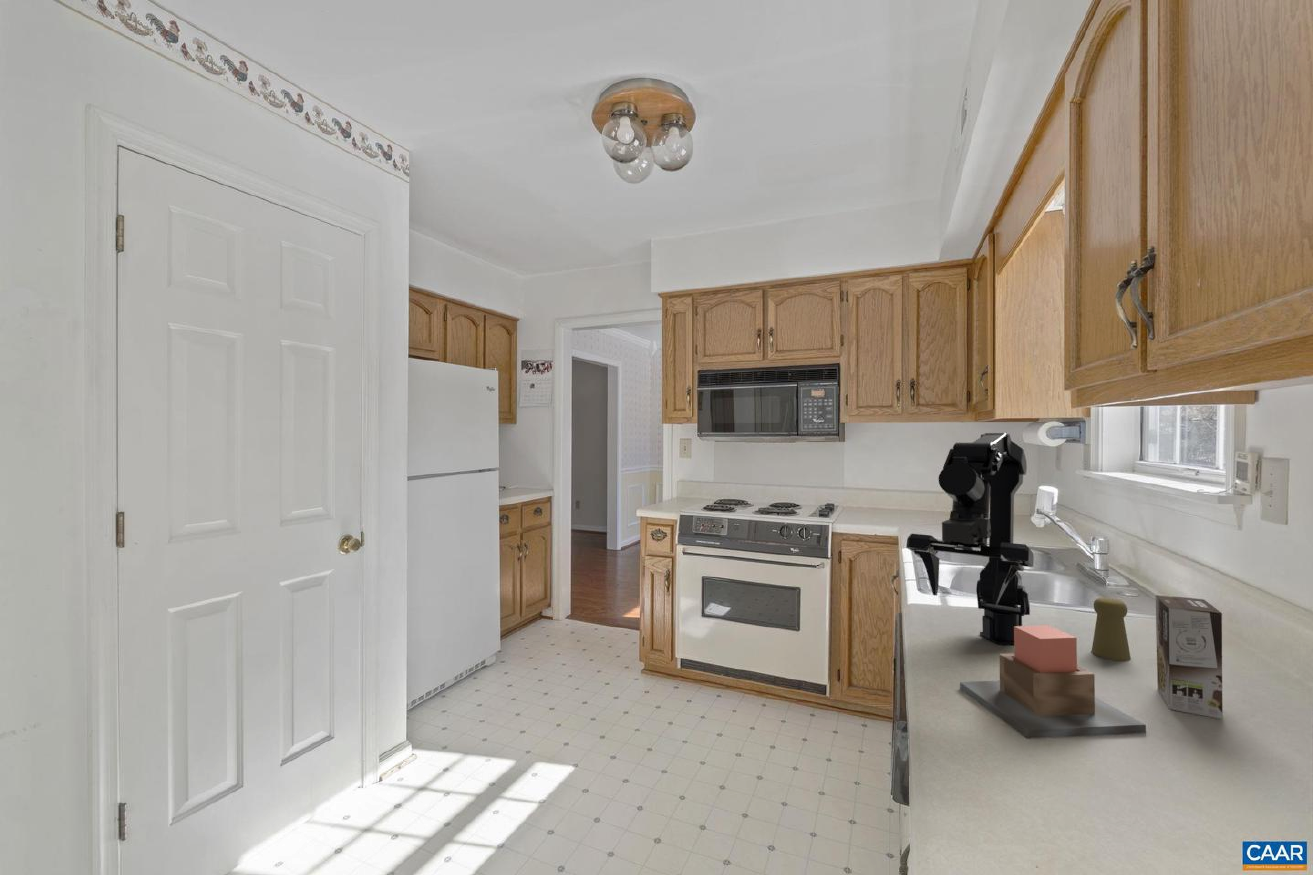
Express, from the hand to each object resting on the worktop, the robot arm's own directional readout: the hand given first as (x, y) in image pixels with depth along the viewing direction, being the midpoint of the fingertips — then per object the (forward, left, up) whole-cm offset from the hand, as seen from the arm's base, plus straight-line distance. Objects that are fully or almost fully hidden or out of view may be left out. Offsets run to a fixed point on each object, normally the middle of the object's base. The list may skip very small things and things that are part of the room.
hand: (963, 599), depth 96 cm
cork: (-37, -13, -16) cm, 43 cm away
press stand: (-8, +7, -15) cm, 19 cm away
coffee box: (-32, +7, -16) cm, 37 cm away
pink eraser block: (-8, +7, -9) cm, 14 cm away
